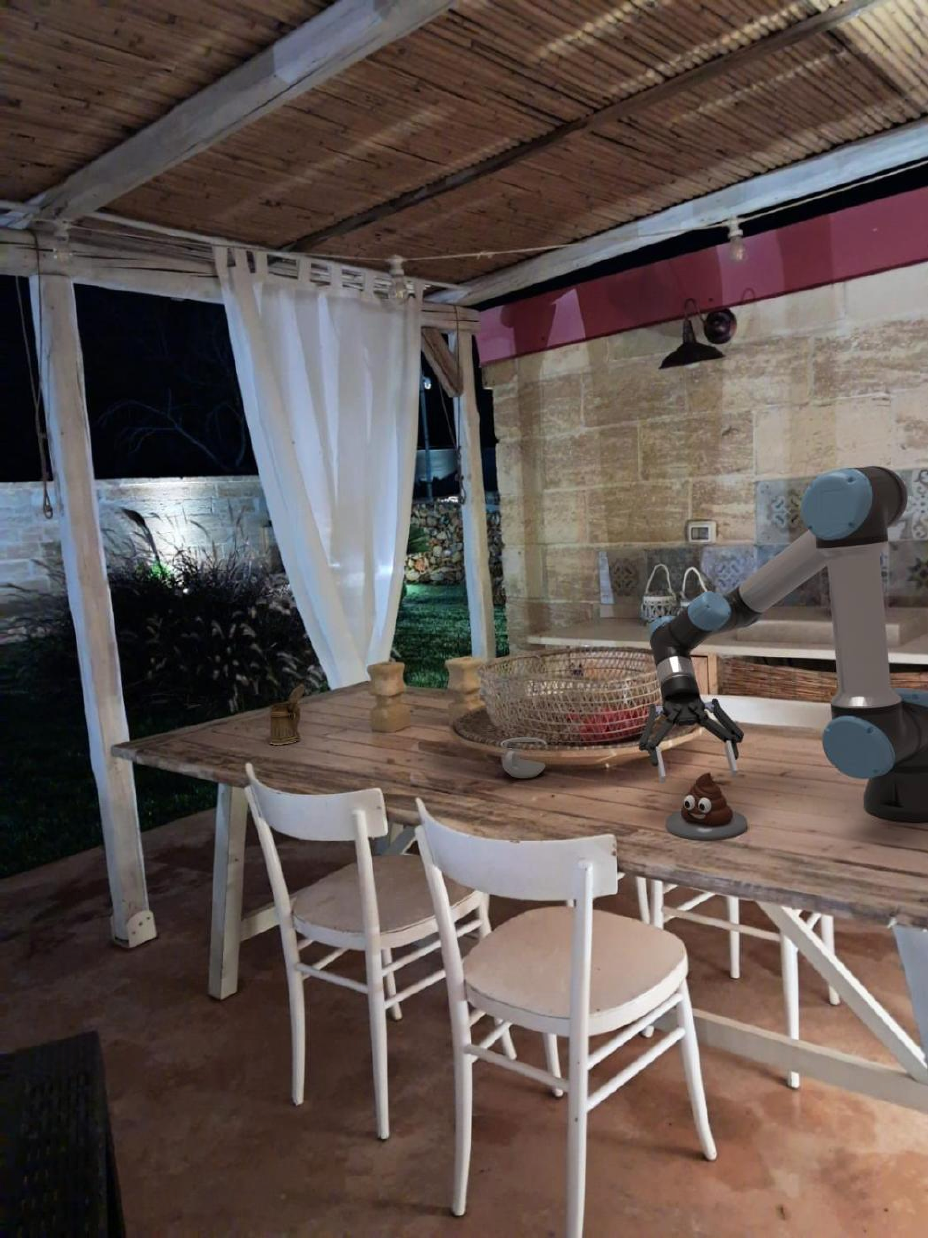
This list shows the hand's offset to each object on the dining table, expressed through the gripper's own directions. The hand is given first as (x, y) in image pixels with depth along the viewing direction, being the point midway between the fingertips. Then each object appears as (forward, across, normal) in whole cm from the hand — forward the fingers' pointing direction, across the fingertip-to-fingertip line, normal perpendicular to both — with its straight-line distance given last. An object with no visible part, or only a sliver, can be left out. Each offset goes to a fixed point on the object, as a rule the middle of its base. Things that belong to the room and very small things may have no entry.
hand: (699, 777), depth 176 cm
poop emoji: (+7, -1, -5) cm, 8 cm away
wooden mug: (-58, +100, -72) cm, 136 cm away
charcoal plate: (+8, 0, -5) cm, 9 cm away
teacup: (-21, +33, -35) cm, 53 cm away
